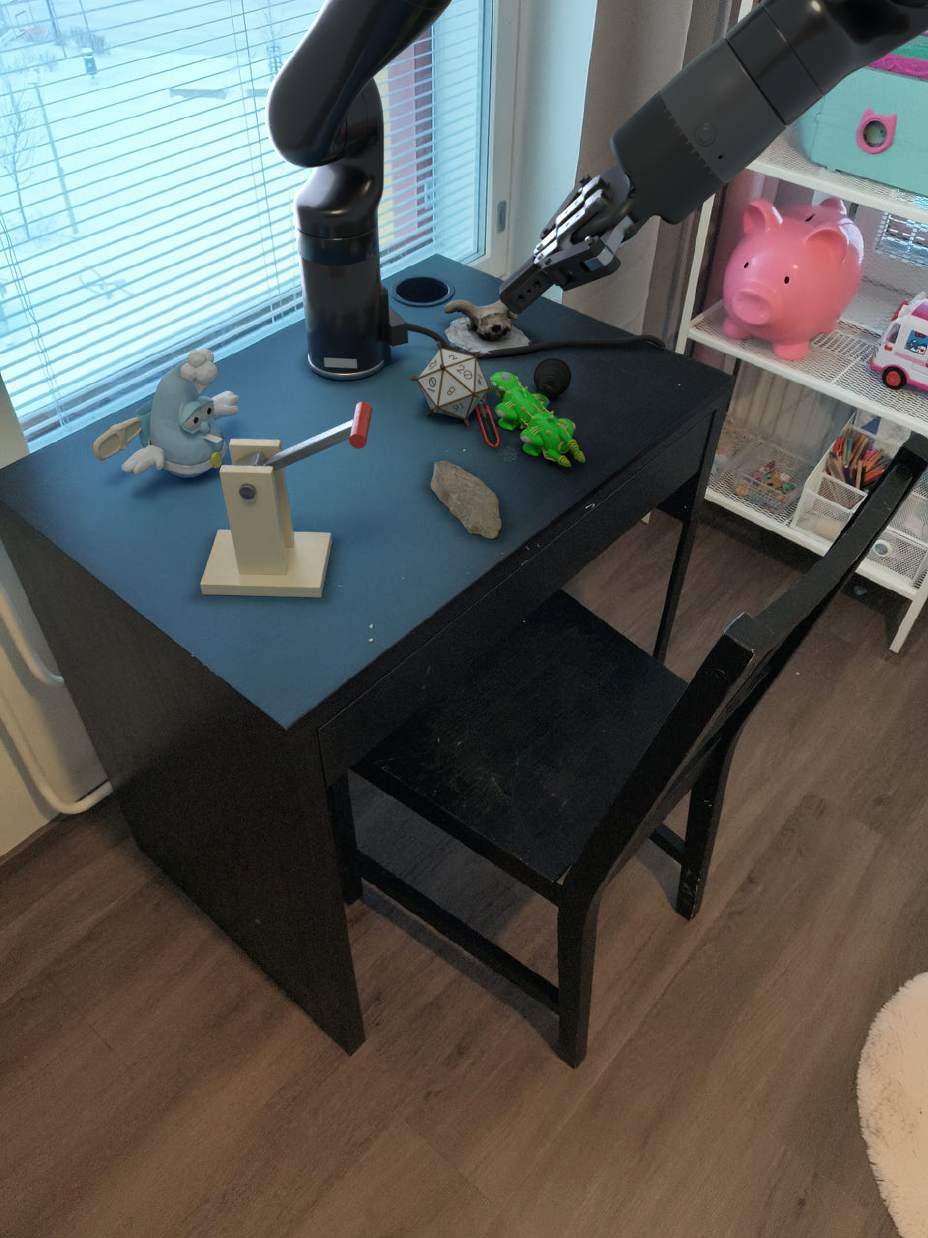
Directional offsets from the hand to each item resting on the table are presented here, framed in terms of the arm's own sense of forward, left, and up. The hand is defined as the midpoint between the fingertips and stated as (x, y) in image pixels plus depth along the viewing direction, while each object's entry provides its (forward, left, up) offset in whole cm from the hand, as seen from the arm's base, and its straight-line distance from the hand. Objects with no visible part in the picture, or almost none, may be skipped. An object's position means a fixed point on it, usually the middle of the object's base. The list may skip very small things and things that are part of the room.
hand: (507, 301), depth 75 cm
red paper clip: (-13, -25, -27) cm, 39 cm away
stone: (0, -11, -26) cm, 29 cm away
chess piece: (-22, -26, -25) cm, 42 cm away
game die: (-9, -26, -28) cm, 39 cm away
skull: (-21, -40, -28) cm, 53 cm away
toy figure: (+20, -29, -28) cm, 45 cm away
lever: (+14, -8, -15) cm, 22 cm away
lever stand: (+19, -11, -27) cm, 35 cm away
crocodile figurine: (-16, -19, -28) cm, 37 cm away
